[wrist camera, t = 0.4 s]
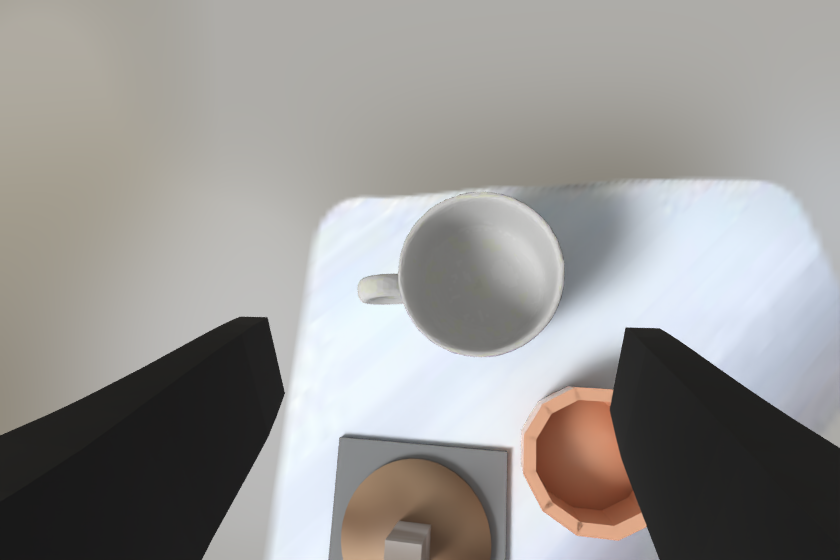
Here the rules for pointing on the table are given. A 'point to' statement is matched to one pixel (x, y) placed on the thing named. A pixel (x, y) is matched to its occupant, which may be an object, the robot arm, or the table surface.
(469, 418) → the table surface
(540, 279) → the teacup
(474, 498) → the lid
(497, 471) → the mat
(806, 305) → the table surface
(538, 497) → the bowl
